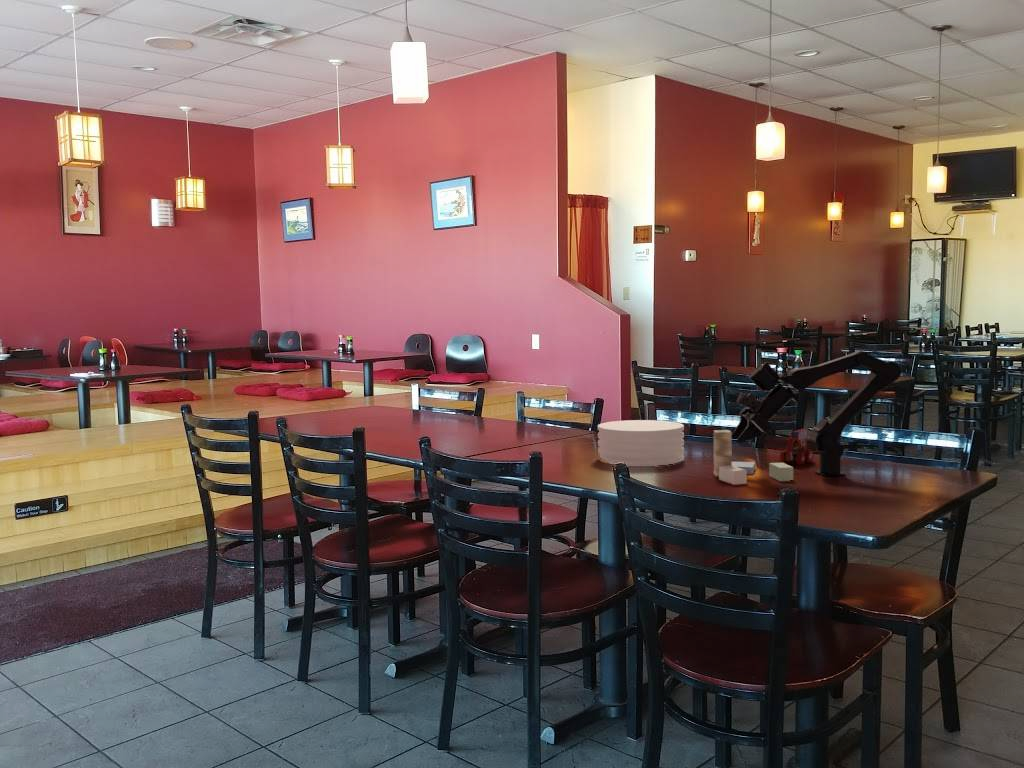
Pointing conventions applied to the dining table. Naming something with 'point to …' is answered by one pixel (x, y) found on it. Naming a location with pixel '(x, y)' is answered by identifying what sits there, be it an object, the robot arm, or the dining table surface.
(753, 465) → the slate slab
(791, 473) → the sage brick
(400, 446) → the dining table surface
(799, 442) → the toy fire truck
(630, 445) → the plate stack
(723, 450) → the birch pillar
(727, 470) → the cream brick
